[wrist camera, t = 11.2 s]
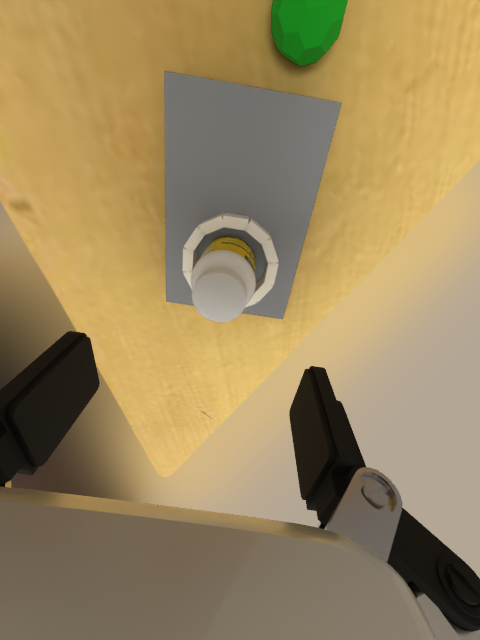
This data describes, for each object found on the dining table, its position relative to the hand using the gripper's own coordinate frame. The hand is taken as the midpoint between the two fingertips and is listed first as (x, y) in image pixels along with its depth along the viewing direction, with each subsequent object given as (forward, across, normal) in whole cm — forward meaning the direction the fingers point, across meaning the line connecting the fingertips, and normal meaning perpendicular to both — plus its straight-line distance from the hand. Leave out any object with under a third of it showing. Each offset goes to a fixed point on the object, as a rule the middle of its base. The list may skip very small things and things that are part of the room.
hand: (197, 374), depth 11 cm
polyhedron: (+20, -3, -17) cm, 26 cm away
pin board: (+19, 0, -3) cm, 19 cm away
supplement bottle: (+18, 0, 0) cm, 18 cm away
